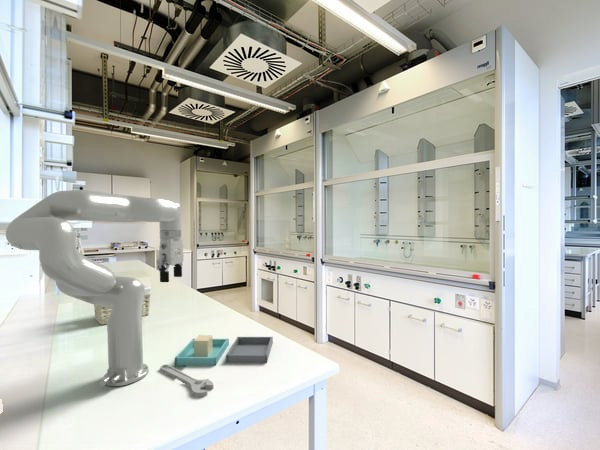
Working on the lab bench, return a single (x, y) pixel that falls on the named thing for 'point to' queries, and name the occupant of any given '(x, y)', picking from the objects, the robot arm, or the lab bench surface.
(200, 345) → the sandstone block
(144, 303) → the storage basket
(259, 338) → the charcoal bin
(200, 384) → the adjustable wrench
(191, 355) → the teal bin
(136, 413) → the lab bench surface
